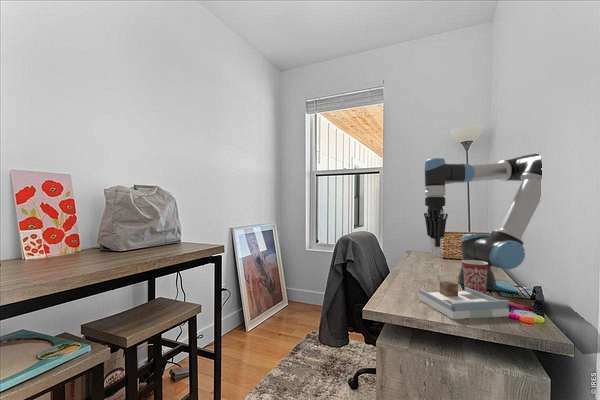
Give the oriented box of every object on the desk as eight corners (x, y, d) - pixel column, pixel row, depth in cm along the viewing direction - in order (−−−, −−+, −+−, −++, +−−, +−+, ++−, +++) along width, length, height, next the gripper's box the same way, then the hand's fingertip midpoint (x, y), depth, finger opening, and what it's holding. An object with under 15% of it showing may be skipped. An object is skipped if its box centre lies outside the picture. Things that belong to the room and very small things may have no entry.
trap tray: (466, 297, 116) (466, 284, 116) (509, 316, 96) (508, 300, 96) (419, 299, 113) (419, 286, 113) (452, 319, 93) (452, 303, 93)
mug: (491, 300, 112) (490, 264, 112) (464, 297, 115) (463, 263, 116) (484, 291, 123) (484, 259, 124) (460, 289, 127) (460, 257, 127)
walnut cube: (450, 292, 113) (450, 280, 114) (458, 296, 109) (457, 284, 109) (439, 293, 113) (439, 281, 113) (446, 296, 108) (446, 284, 108)
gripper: (417, 197, 126) (418, 252, 125) (436, 196, 112) (437, 257, 112) (433, 197, 127) (434, 251, 126) (454, 196, 113) (455, 257, 113)
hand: (435, 254), depth 119 cm, fingers closed
